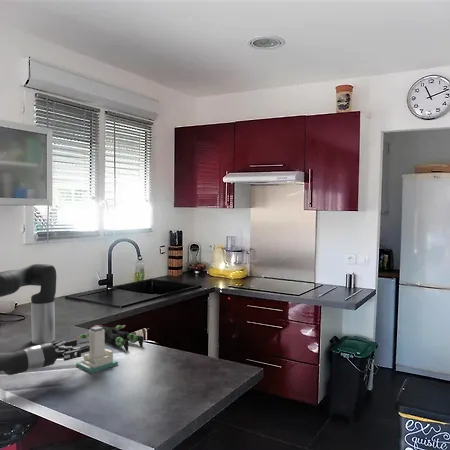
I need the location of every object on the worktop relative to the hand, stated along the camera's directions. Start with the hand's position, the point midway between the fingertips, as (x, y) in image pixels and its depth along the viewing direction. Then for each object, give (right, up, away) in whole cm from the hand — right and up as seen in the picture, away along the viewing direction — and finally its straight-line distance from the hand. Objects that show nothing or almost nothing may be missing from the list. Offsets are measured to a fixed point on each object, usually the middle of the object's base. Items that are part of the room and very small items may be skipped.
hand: (82, 345), depth 158 cm
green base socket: (+4, -9, +5) cm, 11 cm away
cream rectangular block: (+4, -8, +5) cm, 10 cm away
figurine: (+2, -8, +34) cm, 35 cm away
